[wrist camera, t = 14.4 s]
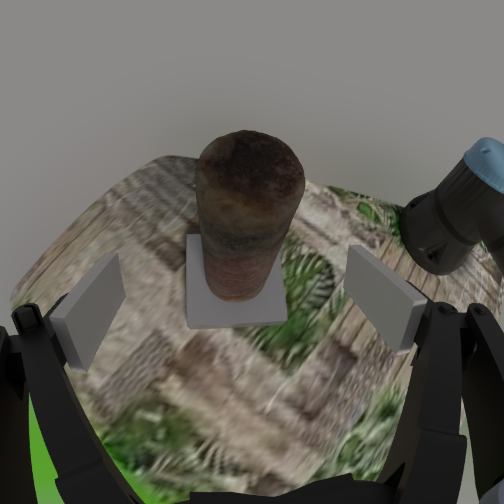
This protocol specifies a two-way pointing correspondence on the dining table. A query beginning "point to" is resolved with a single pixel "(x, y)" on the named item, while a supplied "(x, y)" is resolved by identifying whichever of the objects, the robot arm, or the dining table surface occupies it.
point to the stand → (230, 313)
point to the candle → (245, 209)
